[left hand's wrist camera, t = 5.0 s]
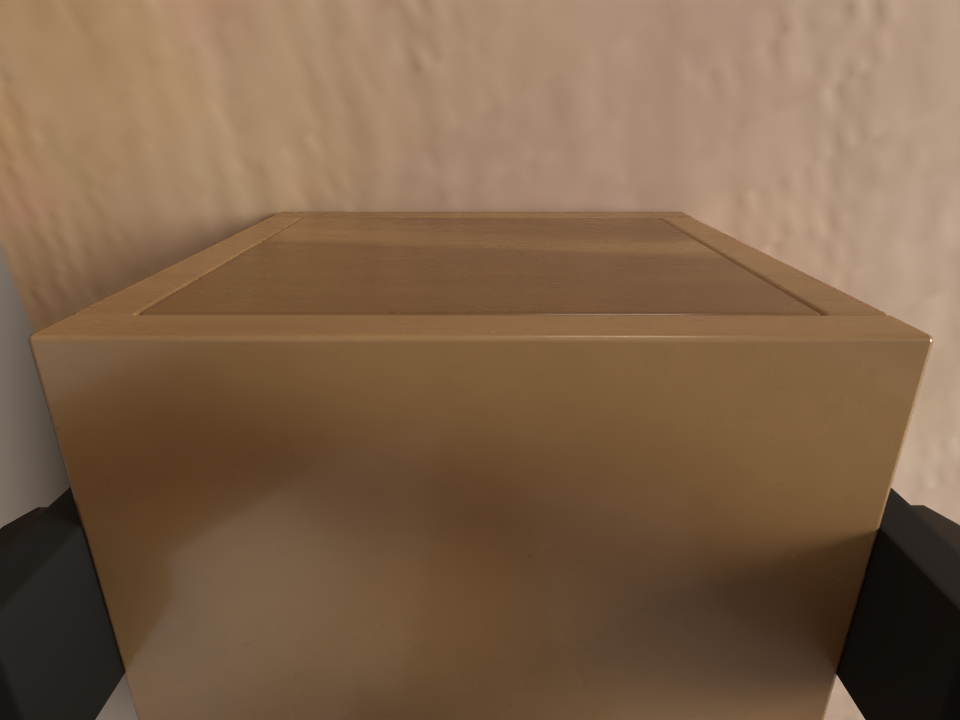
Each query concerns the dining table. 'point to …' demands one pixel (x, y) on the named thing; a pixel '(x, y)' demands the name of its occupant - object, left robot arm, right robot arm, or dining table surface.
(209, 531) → the cabinet
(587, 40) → the dining table surface
